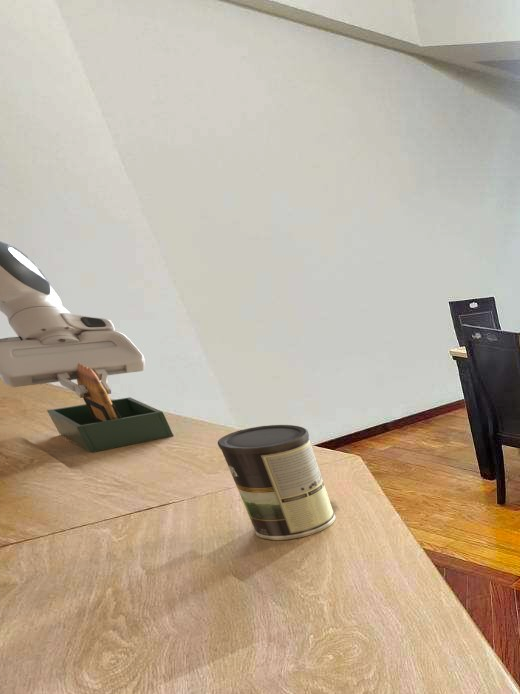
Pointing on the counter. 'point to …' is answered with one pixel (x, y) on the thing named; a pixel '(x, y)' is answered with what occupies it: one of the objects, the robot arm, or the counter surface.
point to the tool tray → (111, 425)
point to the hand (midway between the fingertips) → (96, 394)
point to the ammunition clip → (96, 396)
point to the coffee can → (278, 481)
